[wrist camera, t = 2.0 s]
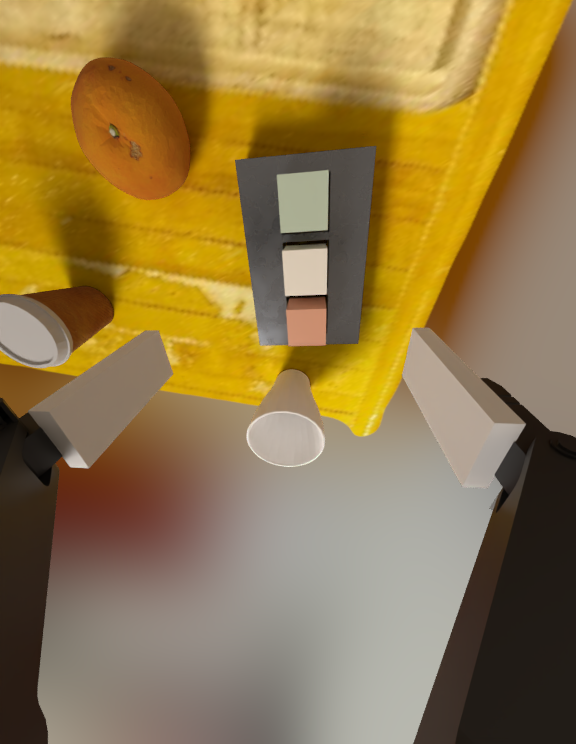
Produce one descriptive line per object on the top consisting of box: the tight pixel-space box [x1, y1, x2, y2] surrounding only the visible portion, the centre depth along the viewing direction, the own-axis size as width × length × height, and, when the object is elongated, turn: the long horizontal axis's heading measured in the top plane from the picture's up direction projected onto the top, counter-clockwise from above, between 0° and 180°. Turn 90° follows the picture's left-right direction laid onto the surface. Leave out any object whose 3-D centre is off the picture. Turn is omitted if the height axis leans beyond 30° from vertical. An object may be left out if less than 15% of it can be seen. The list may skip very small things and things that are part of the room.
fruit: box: [71, 58, 190, 200], centre depth 26 cm, size 10×10×8 cm
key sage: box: [277, 170, 329, 233], centre depth 26 cm, size 5×5×5 cm
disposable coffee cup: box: [0, 286, 114, 368], centre depth 35 cm, size 10×10×12 cm
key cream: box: [282, 243, 327, 296], centre depth 29 cm, size 5×5×5 cm
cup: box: [247, 369, 325, 467], centre depth 39 cm, size 10×10×14 cm
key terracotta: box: [286, 297, 326, 346], centre depth 32 cm, size 5×5×5 cm
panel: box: [235, 146, 376, 345], centre depth 32 cm, size 21×14×4 cm, turn 4°
